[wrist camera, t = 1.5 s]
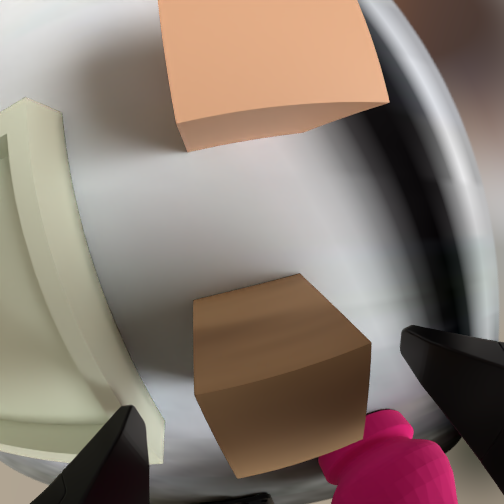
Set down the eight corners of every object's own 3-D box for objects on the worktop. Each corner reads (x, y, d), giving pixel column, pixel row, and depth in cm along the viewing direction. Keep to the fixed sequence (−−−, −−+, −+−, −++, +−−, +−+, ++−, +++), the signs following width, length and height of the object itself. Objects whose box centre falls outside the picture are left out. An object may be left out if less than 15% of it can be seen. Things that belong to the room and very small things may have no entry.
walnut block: (310, 357, 12) (362, 439, 7) (220, 381, 11) (237, 478, 6) (299, 273, 11) (371, 342, 6) (193, 299, 10) (194, 394, 5)
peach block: (302, 132, 9) (389, 102, 5) (187, 152, 9) (176, 123, 4) (279, 35, 8) (336, -42, 3) (169, 48, 8) (154, -41, 3)
